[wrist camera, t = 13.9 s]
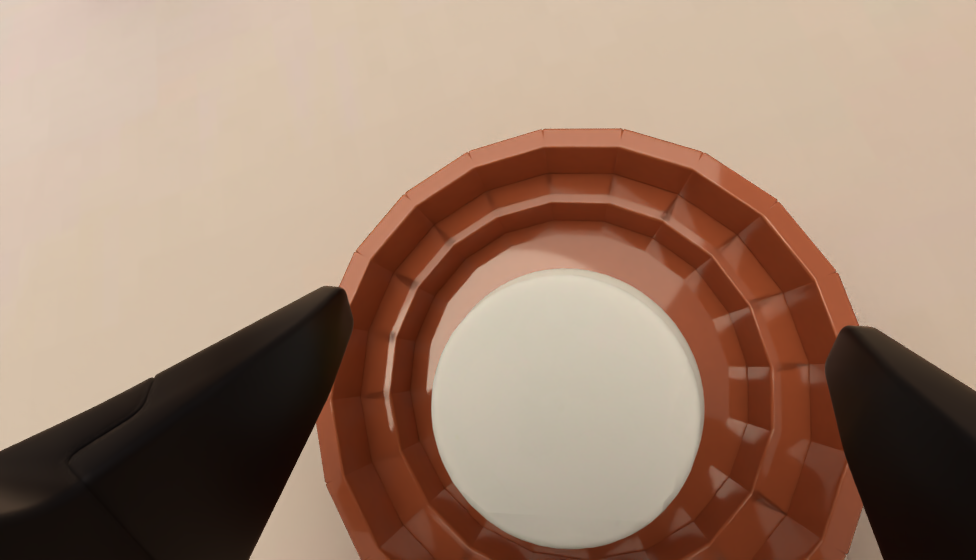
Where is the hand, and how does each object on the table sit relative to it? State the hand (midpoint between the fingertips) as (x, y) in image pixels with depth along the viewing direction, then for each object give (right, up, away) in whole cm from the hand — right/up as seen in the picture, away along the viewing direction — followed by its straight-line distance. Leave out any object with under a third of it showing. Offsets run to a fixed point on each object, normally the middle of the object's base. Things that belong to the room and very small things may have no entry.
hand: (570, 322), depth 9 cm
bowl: (+1, -3, +8) cm, 8 cm away
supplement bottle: (+1, -3, +8) cm, 8 cm away
